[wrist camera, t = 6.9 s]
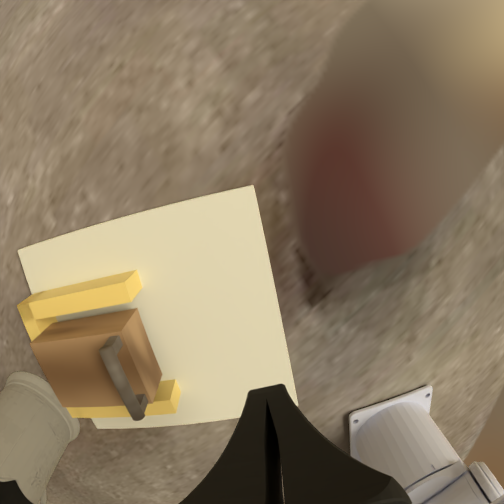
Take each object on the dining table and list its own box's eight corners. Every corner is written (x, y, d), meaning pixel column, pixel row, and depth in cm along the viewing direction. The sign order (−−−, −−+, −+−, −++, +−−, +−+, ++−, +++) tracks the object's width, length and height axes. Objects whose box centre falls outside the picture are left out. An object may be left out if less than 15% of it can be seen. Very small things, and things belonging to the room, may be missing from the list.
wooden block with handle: (164, 368, 21) (146, 423, 15) (82, 377, 21) (52, 423, 15) (140, 303, 19) (109, 347, 14) (56, 318, 19) (15, 357, 14)
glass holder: (67, 382, 22) (-17, 513, 7) (101, 479, 25) (67, 585, 11) (-5, 362, 21) (-93, 455, 7) (37, 459, 25) (-9, 548, 10)
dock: (296, 397, 23) (303, 426, 20) (100, 421, 23) (88, 447, 20) (252, 184, 19) (256, 186, 16) (25, 247, 19) (-2, 258, 16)
